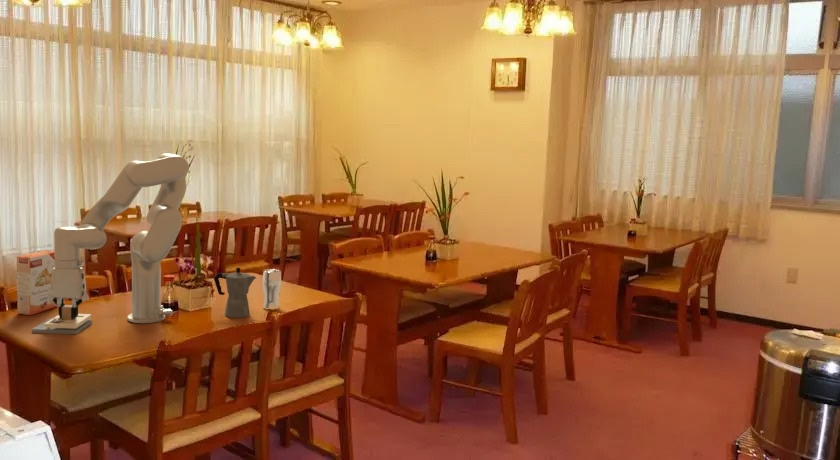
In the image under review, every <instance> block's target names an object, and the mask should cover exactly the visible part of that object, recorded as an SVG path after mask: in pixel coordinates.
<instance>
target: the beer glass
mask: <svg viewBox="0 0 840 460" xmlns="http://www.w3.org/2000/svg"><path fill="white" fill-rule="evenodd" d="M281 286H282V271H281V269H275V268H267V269H264V270H263V273H262V290H263V295H264V298H263V299H264V301H263V307H264V308H277V307H278V306H279V307H280V303H279V296H280V291H281ZM263 307H262V308H263Z"/></svg>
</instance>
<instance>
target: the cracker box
mask: <svg viewBox="0 0 840 460" xmlns="http://www.w3.org/2000/svg"><path fill="white" fill-rule="evenodd" d="M54 267H55V250H41V251H36V252H32V253H27V254H21V255H17V256H16V298H17V299H16V301H17V303H16V304H17V305H16V306H17V309H16V310H17V314H18V315H26V316H32V315H36V314H38V313H42V312H45V311H48V310H50V309H54V308H58V307H57V305H56V304H55V303H54V302H53V301H52V300H50V299H48V298H47V296H48V294H49V292H50V285H51V276H52V271H53V268H54Z"/></svg>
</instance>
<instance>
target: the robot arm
mask: <svg viewBox="0 0 840 460" xmlns="http://www.w3.org/2000/svg"><path fill="white" fill-rule="evenodd" d="M189 165H190V164H189V162H188V161H187V159H186V158H185V157H183V156H181V155H178V154H175V153H167V152H166V153H162V154H160V155H159V156H158V157H157V158H156V159H154V160H149V161H140V160H131V161H128V162H127V164H125V166H124V167H123V168H122V169H121V171H120V173H119V174H118V175H117V177H116V178H115V180H114V181H113V182H112V184H111V186H109V188H108V189H107V191H106V193H105V194H104V195H103V196H101V198H100V199H99V200H98V201H97V202H96V203H95V204H94V205H93V206H92V207H91V209H90V210H89V211H88V212H87V213H86V215H85V216H84V218H83V219H82V221H81V222H80V223H79V225H78V226H77V227H75V226H69V225H67V226H59V227H56V228H55V229H54V233H53V235H54V236H53V238H54V239H53V241H54V243H53V244H54V246H53V247H54V251H55V267H54V268H53V271H52V276H51V285H50V292H49V294H48V296H47V298H48V299H50V300H52V301H53V302H54V303H55V304H56V305H57V307H56V308H58V315H59V316H60V318H61V319H62V307H63V306H64V305H65V299H71V303H72V304H71V305H72V308H71V319H75V318H76V317H77V316H78V314H79V306H80V305H81V304H82V303H83V302H85V301H87V300H89V299H90V297H89V295H88V293H87V283H86V275H85V270H84V268H83V267H81V266H85V261H83V260H81V249H85V250H96V249H101V248H102V247H104V245H105V244H106V242H107V234H106V232H105V231H104V229H105V228H106V226H107V225H108V224H109V223H110V221H112V219H113V218H114V217H116V216H117V215H119V214H121V213H123V212H125V211H126V210H127V209H128V208H129V207H130V206H131V205H132V203H133V202H134V200H135V198H136V197H137V196H138V194H139V193H140V192H141V190H142V189H143V188H150V187H154V186H155V187H156V186H160V187H159V190H158V192H157V195H156V196H155V199H154V200H153V203H152V204H151V206H150V208H149V210H148V211H147V215H146V221H147V224H148V225H149V226H150V227H149V229H148V230H141V231H139V232H136V233H135V234H134V235H133V236H132V239H131V240H130V244H129V245H130V246H129V249H130V259H131V308H132V309H131V311H132V312H131V313H130V314H128V315H127V321H128V322H131V323H135V324H154V323H158V322H161V321H163V320H165V319H166V316H169V317H171V316H172V317H173V314H174V310H173V309H171V308H164V305H163V304H161V301H162V298H161V296H162V288H161V287H162V281H161V280H162V279H161V277H162V265H161V261H163V260H164V259H165V258H166V257H167V256H168V255H169V253H170V250H171V249H172V247H173V245H174V243H175V241H176V239H177V237H178V235H179V233H180V231H181V229H182V225H183V217H182V214H181V212H180V211H179V209H180V208H181V207H180V206H181V204H182V203H183V200H184V197H185V194H186V191H187V180H186V176H187V175H188V173H189V170H190V166H189Z"/></svg>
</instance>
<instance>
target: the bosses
mask: <svg viewBox="0 0 840 460" xmlns="http://www.w3.org/2000/svg"><path fill="white" fill-rule="evenodd" d="M53 318H54V319H53V322H55V323H59V322H61V321H62V319H61V318H55V317H53Z"/></svg>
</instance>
